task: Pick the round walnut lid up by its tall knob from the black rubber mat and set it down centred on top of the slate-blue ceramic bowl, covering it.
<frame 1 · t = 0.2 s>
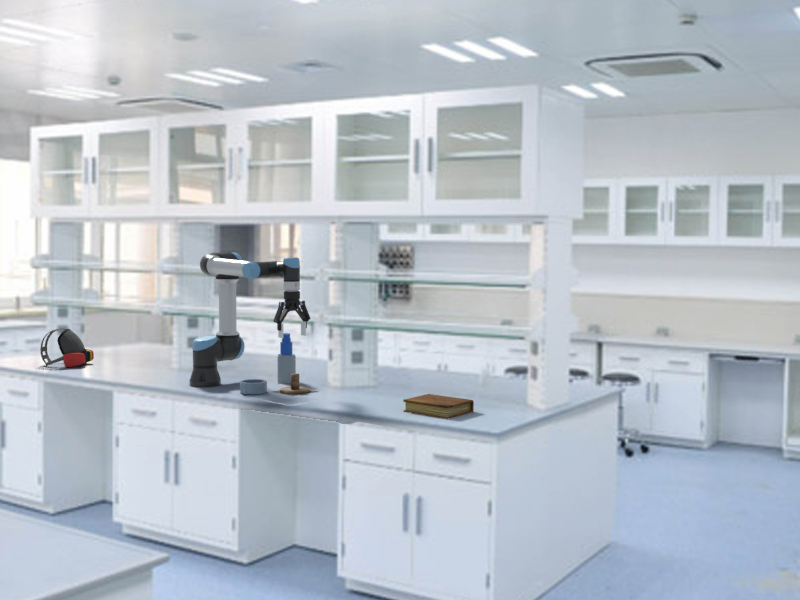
hand: (292, 336, 422), 27 cm above the counter, fingers open, 13 cm apart
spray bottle: (286, 383, 452), on the counter
lid: (295, 391, 425), point 1 cm above the counter, touching mat
diary: (438, 413, 384), on the counter
mat: (295, 393, 425), on the counter
bowl: (253, 394, 422), on the counter
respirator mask: (66, 365, 509), on the counter
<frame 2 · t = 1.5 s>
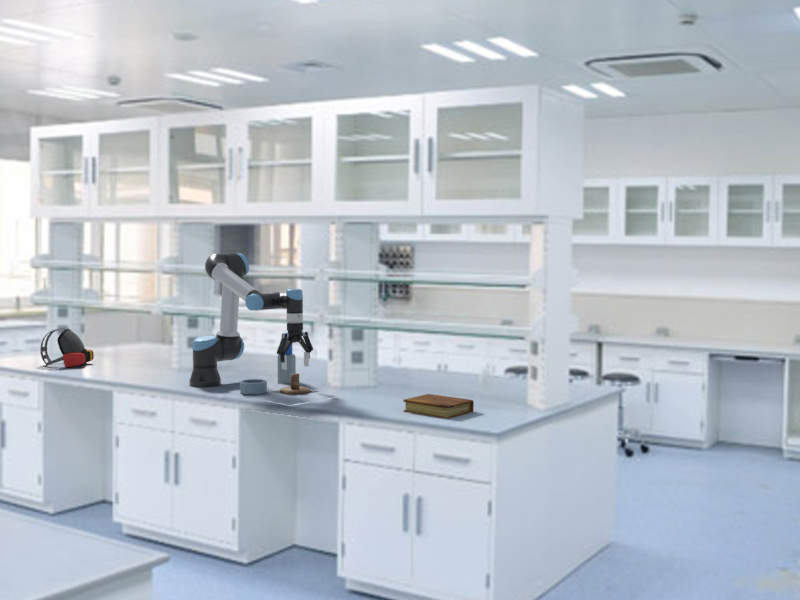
hand: (295, 367, 424), 12 cm above the counter, fingers open, 13 cm apart
nothing on the counter moved.
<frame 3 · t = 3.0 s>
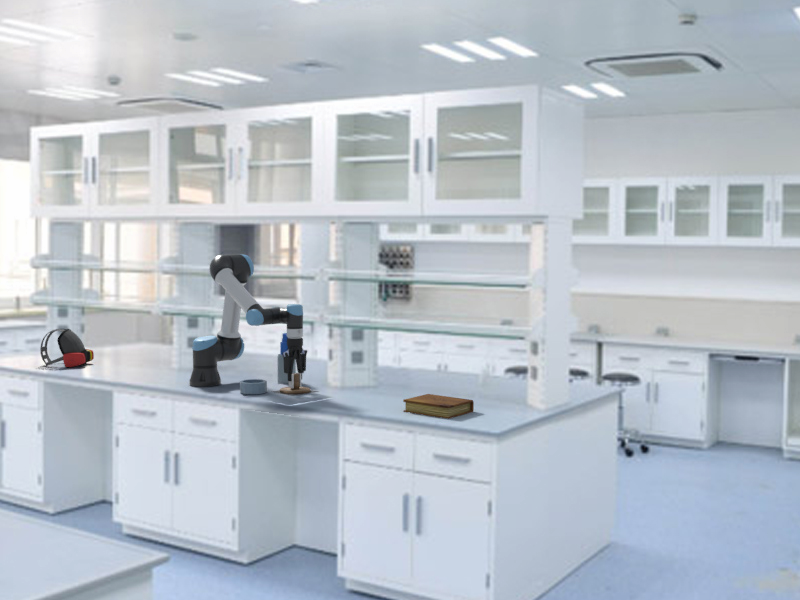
hand: (295, 387, 425), 3 cm above the counter, fingers closed on lid, 4 cm apart
lid: (295, 391, 425), point 1 cm above the counter, touching gripper
everything else where it was.
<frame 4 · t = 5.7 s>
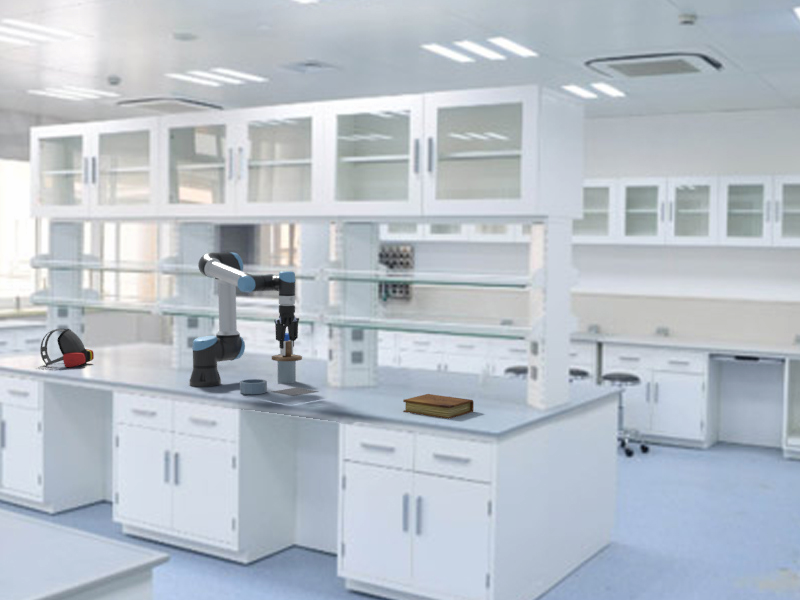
hand: (286, 354, 423), 18 cm above the counter, fingers closed on lid, 4 cm apart
lid: (286, 359, 424), point 16 cm above the counter, touching gripper
everything else where it was.
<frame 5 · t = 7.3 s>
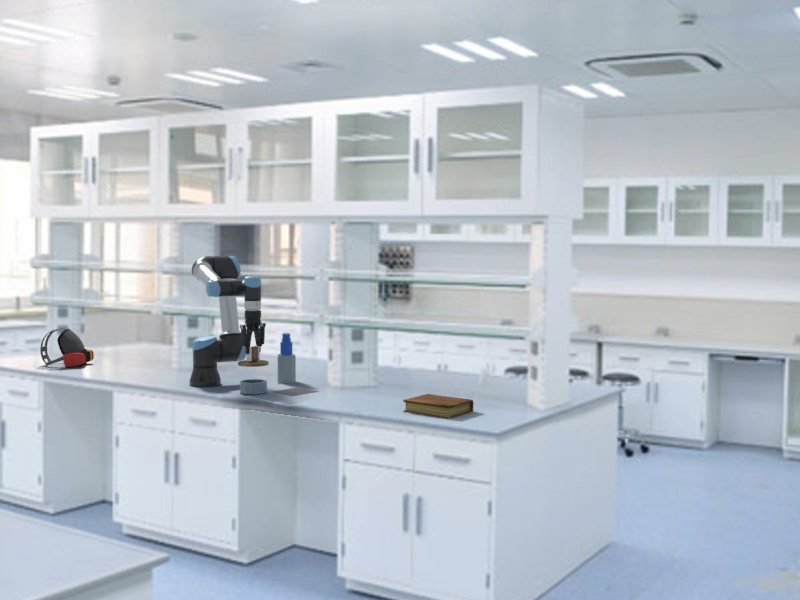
hand: (253, 360, 421), 16 cm above the counter, fingers closed on lid, 4 cm apart
lid: (253, 364, 421), point 14 cm above the counter, touching gripper
everything else where it was.
when the fingers open (9 cm above the counter, at t = 8.6 s): lid drops 2 cm, resting on bowl.
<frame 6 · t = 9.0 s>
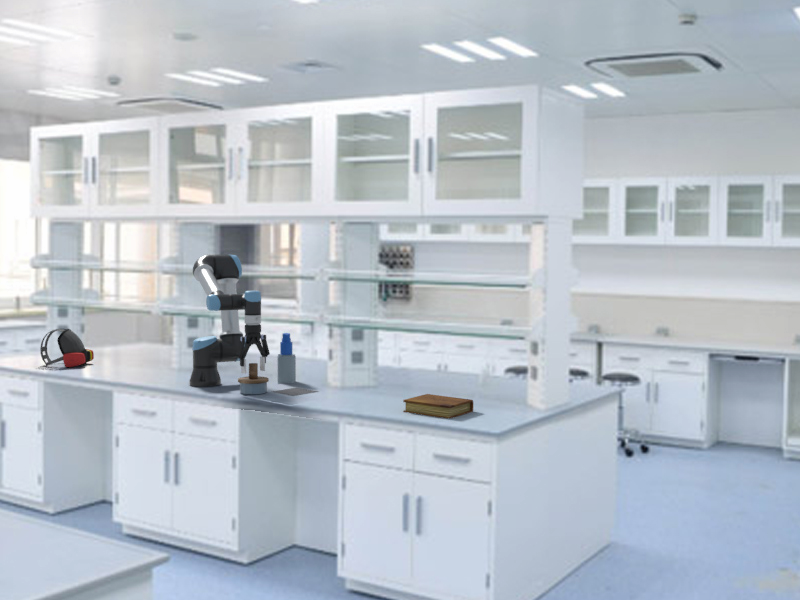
hand: (253, 371, 421), 10 cm above the counter, fingers open, 10 cm apart
lid: (253, 381, 422), point 6 cm above the counter, touching bowl
everything else where it was.
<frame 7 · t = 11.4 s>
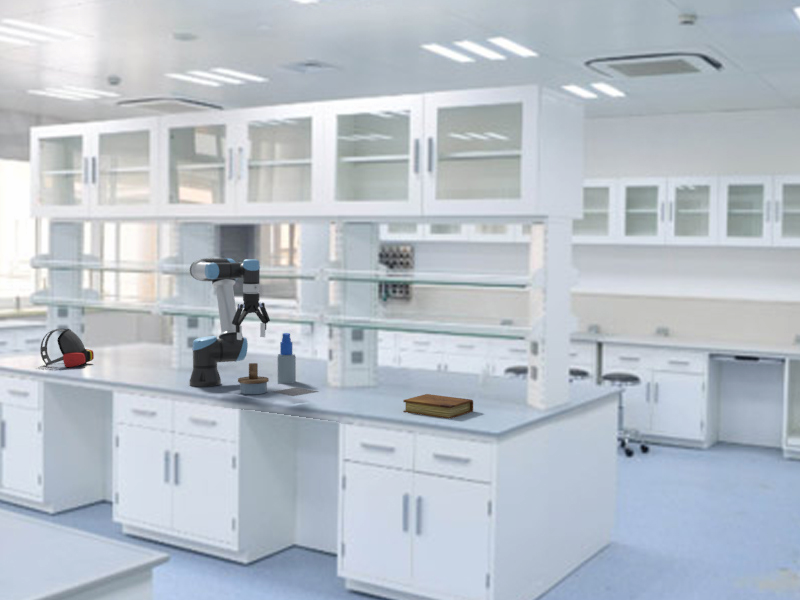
hand: (251, 338, 424), 26 cm above the counter, fingers open, 13 cm apart
nothing on the counter moved.
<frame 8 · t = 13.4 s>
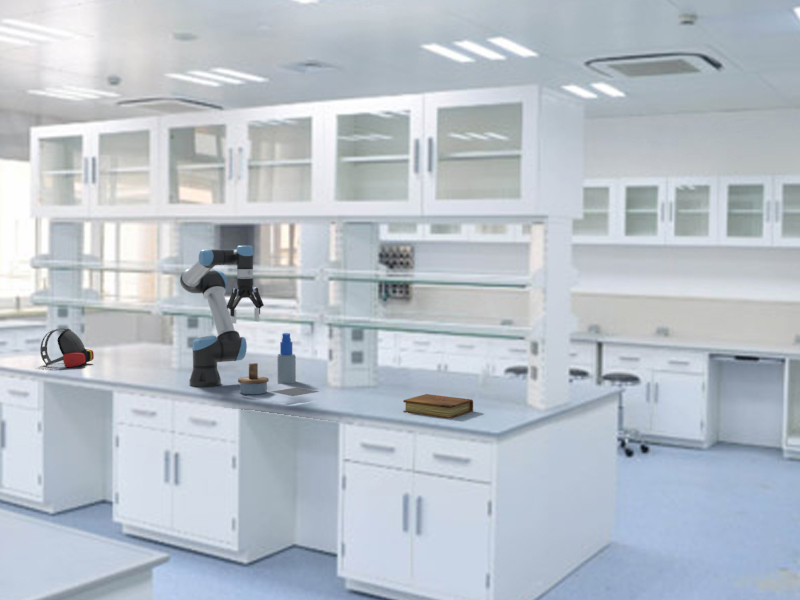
hand: (245, 322, 437), 32 cm above the counter, fingers open, 13 cm apart
nothing on the counter moved.
at the end: lid 0.0 cm off-centre on the bowl, point 6.0 cm above the bowl's base; lid tilted 0°; the gripper is holding nothing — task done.
